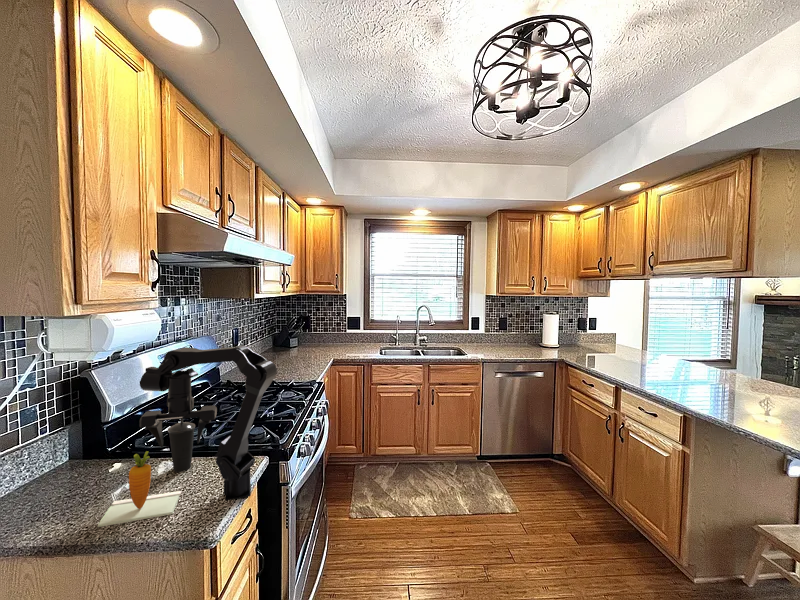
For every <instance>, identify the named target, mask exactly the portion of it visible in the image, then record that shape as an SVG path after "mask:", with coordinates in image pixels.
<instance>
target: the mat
mask: <svg viewBox="0 0 800 600" xmlns="http://www.w3.org/2000/svg"><path fill="white" fill-rule="evenodd" d="M179 499H180V495H177V496H170V497H164V498H158V499H152V500H146V501H145V503H144V505H143V507H142V508H141V509H138V508H137V507H136V506H135V504H134V503H127V504H121V505H114V506H112V505H111V506H109V507H108V509H107V510H106V512H105V514H104V515H103V517H102V518H101V520H99V522H98V523H97V528H101V527H102V528H103V527H107V526H112V525H118V524H124V523H130V522H135V521H140V520H146V519H152V518H158V517H163V516H168V515H173V514H174V512H175V509H176V507H177V505H178V502H179Z"/></svg>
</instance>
